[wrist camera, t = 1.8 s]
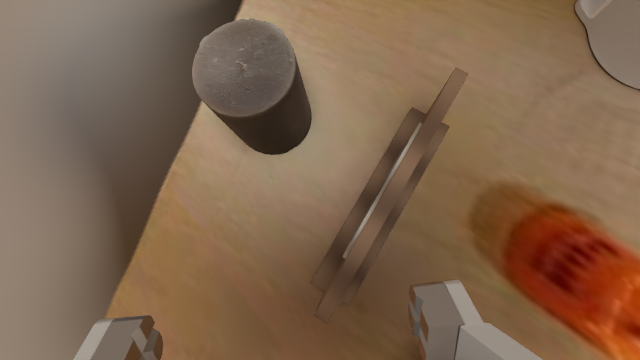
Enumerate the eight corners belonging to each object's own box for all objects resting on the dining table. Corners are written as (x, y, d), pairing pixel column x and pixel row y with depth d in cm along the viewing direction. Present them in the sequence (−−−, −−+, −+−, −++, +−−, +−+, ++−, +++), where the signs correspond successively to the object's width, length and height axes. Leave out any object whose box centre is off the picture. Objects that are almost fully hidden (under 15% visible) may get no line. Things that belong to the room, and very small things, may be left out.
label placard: (410, 110, 44) (435, 57, 31) (447, 129, 43) (489, 83, 30) (311, 281, 41) (293, 302, 28) (348, 304, 41) (347, 337, 28)
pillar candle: (288, 168, 44) (259, 132, 29) (223, 133, 45) (163, 82, 30) (325, 101, 45) (315, 34, 30) (260, 70, 46) (220, -9, 31)
